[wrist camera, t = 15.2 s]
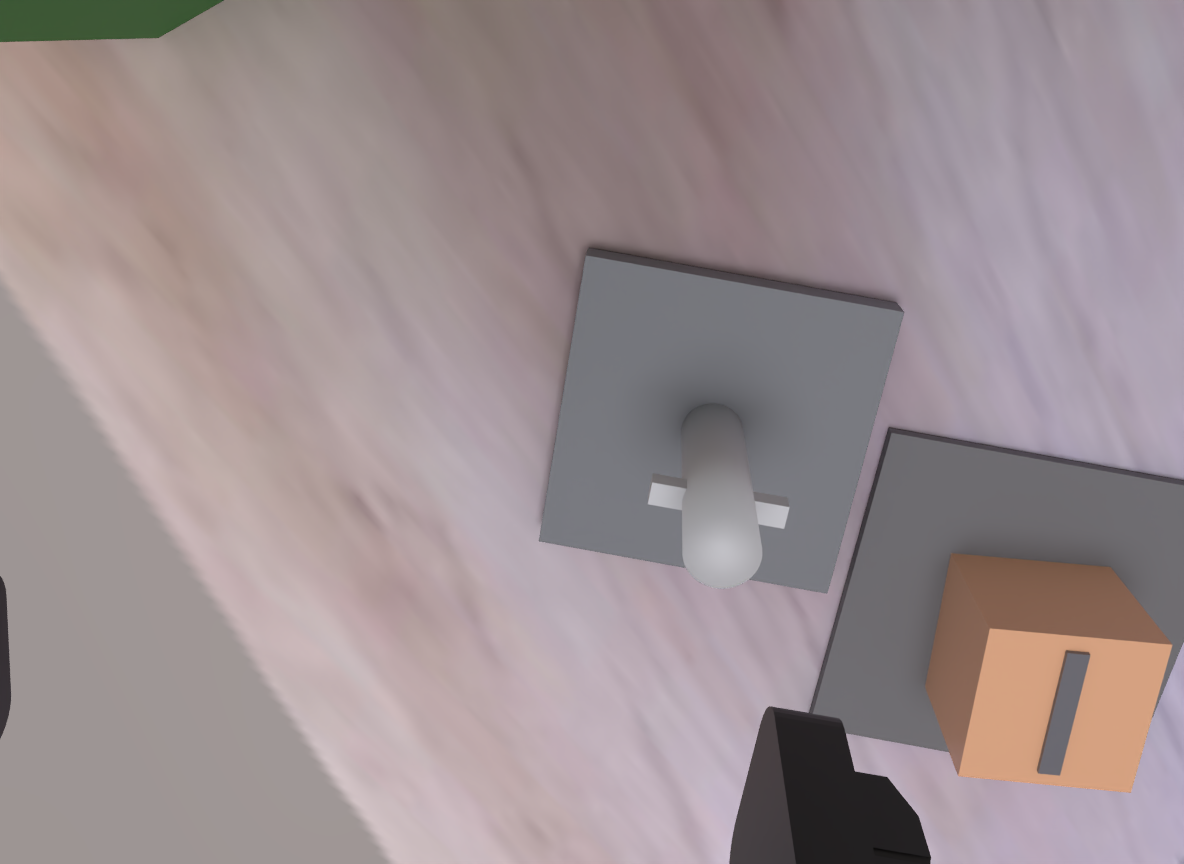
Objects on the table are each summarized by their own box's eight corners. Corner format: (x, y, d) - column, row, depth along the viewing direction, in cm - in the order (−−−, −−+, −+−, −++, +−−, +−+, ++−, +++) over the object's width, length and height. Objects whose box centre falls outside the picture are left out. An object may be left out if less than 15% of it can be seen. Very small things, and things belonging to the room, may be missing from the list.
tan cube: (1110, 566, 45) (1174, 648, 39) (1076, 700, 47) (1132, 796, 41) (951, 553, 45) (991, 631, 39) (925, 686, 47) (959, 779, 41)
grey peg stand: (588, 247, 42) (556, 327, 31) (896, 302, 42) (975, 403, 31) (543, 525, 47) (500, 684, 35) (822, 576, 46) (868, 752, 35)
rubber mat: (888, 427, 44) (891, 432, 43) (1236, 490, 44) (1243, 496, 43) (807, 718, 49) (809, 726, 48) (1119, 775, 49) (1124, 784, 48)
